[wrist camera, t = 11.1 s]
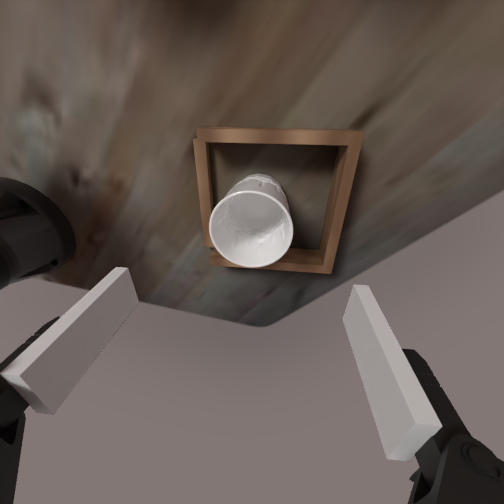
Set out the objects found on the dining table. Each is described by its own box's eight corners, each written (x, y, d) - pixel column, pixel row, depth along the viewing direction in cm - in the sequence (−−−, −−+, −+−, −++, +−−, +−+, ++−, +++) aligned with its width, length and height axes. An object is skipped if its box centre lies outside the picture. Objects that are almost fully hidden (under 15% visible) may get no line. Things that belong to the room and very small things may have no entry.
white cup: (271, 236, 32) (268, 279, 24) (220, 211, 31) (198, 247, 23) (300, 186, 28) (310, 216, 20) (243, 156, 27) (227, 174, 19)
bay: (207, 249, 34) (199, 264, 31) (195, 126, 26) (182, 128, 23) (325, 257, 33) (331, 274, 30) (352, 129, 25) (364, 131, 21)
